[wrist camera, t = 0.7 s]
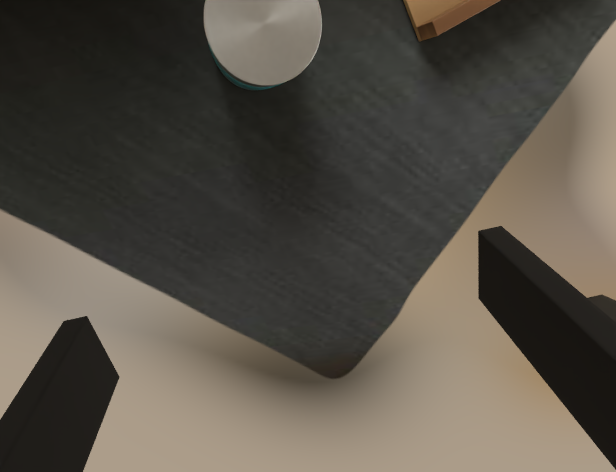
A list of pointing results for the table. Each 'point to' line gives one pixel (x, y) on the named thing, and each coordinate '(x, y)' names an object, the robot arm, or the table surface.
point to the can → (262, 39)
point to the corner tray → (442, 14)
